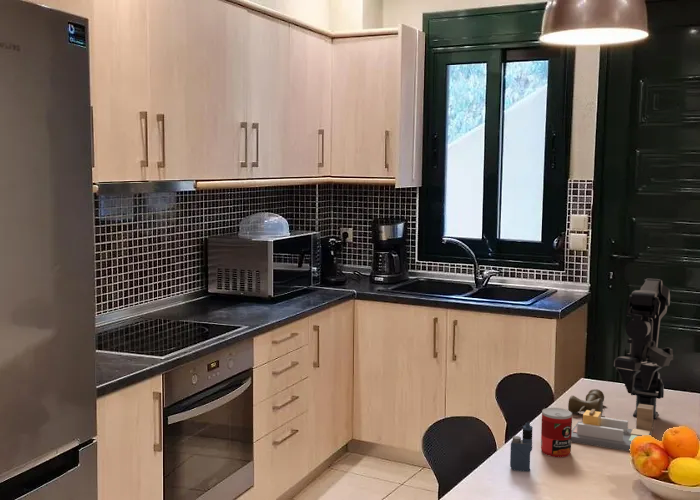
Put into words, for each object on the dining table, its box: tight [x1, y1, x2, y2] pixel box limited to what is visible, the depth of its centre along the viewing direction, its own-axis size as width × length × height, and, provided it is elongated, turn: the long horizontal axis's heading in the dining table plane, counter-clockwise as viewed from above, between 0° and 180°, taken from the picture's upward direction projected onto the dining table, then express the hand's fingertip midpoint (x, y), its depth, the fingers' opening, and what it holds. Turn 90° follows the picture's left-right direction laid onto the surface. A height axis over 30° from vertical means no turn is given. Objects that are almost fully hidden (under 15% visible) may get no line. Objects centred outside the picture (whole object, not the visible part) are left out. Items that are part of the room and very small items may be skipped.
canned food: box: [540, 407, 573, 458], centre depth 211 cm, size 8×8×11 cm
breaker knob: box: [582, 409, 602, 426], centre depth 224 cm, size 5×4×6 cm
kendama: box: [567, 388, 605, 417], centre depth 246 cm, size 6×10×20 cm
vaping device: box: [509, 422, 533, 472], centre depth 199 cm, size 3×5×12 cm, turn 78°
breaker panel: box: [571, 416, 652, 452], centre depth 222 cm, size 14×20×4 cm
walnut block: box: [635, 404, 654, 433], centre depth 229 cm, size 4×4×7 cm
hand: (638, 391), depth 226 cm, fingers open, 9 cm apart
